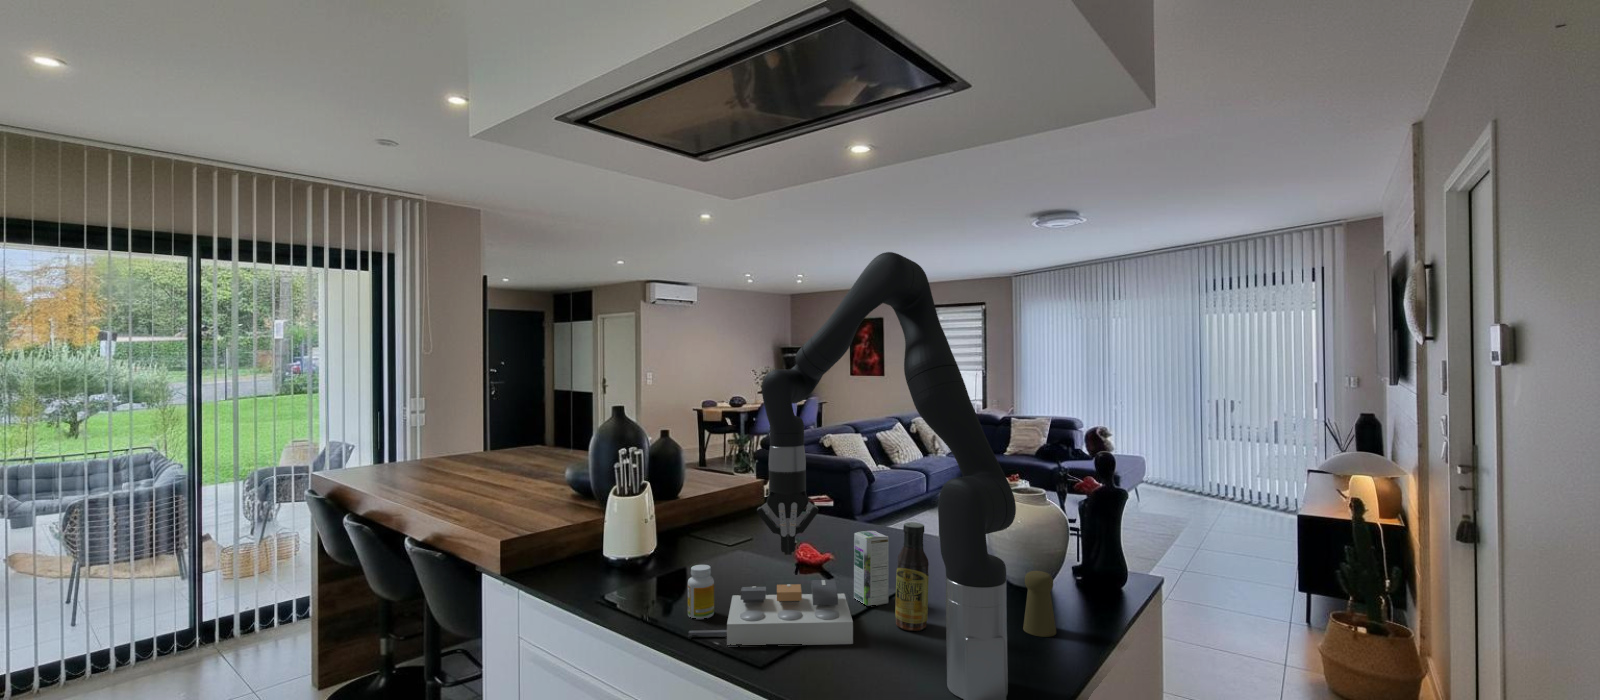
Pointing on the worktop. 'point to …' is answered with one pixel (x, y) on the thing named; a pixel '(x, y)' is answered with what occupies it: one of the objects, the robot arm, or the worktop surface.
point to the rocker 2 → (789, 593)
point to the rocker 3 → (824, 592)
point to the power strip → (786, 622)
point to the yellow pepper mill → (1039, 605)
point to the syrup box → (871, 568)
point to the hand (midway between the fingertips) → (788, 554)
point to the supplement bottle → (700, 592)
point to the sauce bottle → (912, 580)
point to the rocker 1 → (753, 594)
